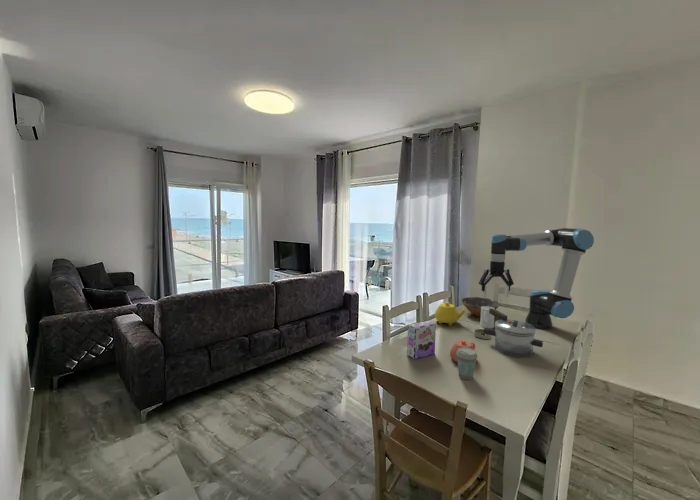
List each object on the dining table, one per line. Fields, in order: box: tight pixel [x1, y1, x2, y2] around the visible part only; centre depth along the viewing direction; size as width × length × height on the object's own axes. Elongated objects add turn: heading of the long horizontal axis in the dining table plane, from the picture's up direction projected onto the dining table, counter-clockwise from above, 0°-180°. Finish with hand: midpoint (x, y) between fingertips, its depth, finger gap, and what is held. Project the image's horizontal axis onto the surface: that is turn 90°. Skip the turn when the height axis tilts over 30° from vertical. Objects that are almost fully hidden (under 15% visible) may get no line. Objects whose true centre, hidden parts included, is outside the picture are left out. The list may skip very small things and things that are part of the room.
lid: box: [489, 308, 537, 334], centre depth 167 cm, size 32×19×4 cm, turn 4°
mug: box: [479, 306, 495, 329], centre depth 195 cm, size 12×8×12 cm
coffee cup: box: [456, 347, 478, 381], centre depth 133 cm, size 8×8×12 cm
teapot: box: [434, 301, 467, 327], centre depth 201 cm, size 20×16×14 cm
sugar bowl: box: [449, 339, 476, 363], centre depth 149 cm, size 12×14×10 cm
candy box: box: [406, 320, 437, 360], centre depth 154 cm, size 14×6×16 cm, turn 117°
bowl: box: [460, 296, 500, 318], centre depth 218 cm, size 25×25×10 cm
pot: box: [483, 325, 544, 358], centre depth 161 cm, size 28×19×12 cm, turn 49°
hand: (495, 296), depth 178 cm, fingers open, 13 cm apart
